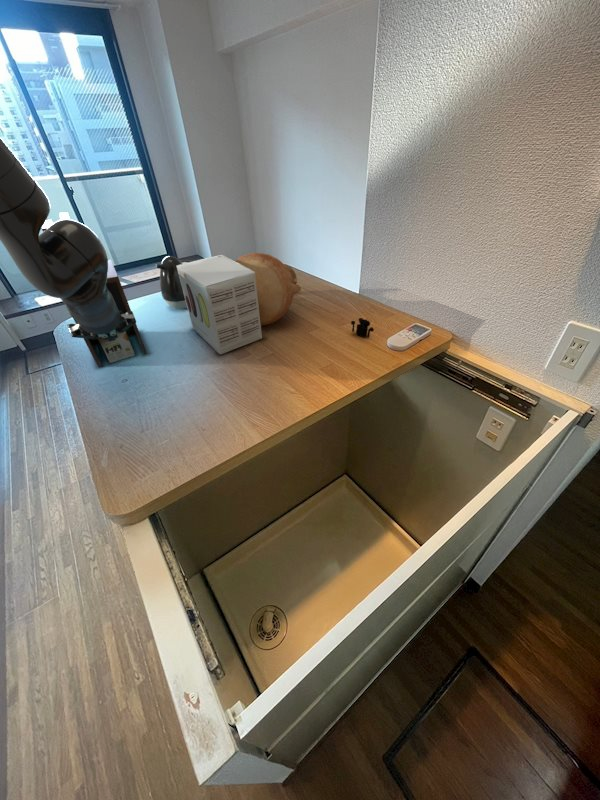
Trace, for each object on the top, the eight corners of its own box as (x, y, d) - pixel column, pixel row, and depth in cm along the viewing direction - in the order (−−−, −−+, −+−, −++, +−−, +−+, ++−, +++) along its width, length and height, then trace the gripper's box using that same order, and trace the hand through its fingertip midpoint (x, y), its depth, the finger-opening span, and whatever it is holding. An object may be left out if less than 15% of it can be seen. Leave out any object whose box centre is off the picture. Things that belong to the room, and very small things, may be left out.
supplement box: (191, 329, 93) (174, 265, 81) (232, 316, 99) (222, 253, 87) (219, 355, 83) (204, 285, 71) (263, 338, 89) (256, 271, 77)
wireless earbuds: (348, 332, 91) (350, 316, 87) (353, 329, 92) (355, 312, 89) (370, 341, 87) (373, 324, 84) (375, 337, 89) (378, 320, 85)
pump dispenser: (158, 308, 104) (142, 259, 94) (182, 296, 111) (169, 249, 101) (181, 315, 100) (168, 264, 90) (204, 302, 107) (194, 254, 97)
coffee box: (136, 355, 83) (111, 295, 73) (109, 363, 81) (80, 302, 70) (128, 340, 89) (103, 282, 79) (102, 347, 86) (74, 288, 76)
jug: (199, 288, 86) (241, 264, 110) (245, 346, 92) (275, 310, 116) (253, 241, 76) (286, 225, 100) (300, 309, 83) (320, 279, 107)
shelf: (98, 367, 80) (26, 228, 59) (93, 343, 88) (29, 214, 68) (147, 353, 84) (96, 219, 64) (138, 332, 92) (91, 208, 72)
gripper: (124, 281, 62) (135, 315, 78) (44, 295, 57) (73, 329, 73) (138, 317, 62) (146, 344, 78) (59, 335, 57) (85, 360, 73)
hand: (111, 337), depth 76 cm, fingers closed
